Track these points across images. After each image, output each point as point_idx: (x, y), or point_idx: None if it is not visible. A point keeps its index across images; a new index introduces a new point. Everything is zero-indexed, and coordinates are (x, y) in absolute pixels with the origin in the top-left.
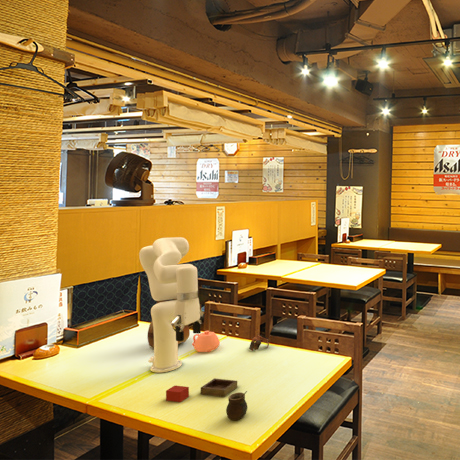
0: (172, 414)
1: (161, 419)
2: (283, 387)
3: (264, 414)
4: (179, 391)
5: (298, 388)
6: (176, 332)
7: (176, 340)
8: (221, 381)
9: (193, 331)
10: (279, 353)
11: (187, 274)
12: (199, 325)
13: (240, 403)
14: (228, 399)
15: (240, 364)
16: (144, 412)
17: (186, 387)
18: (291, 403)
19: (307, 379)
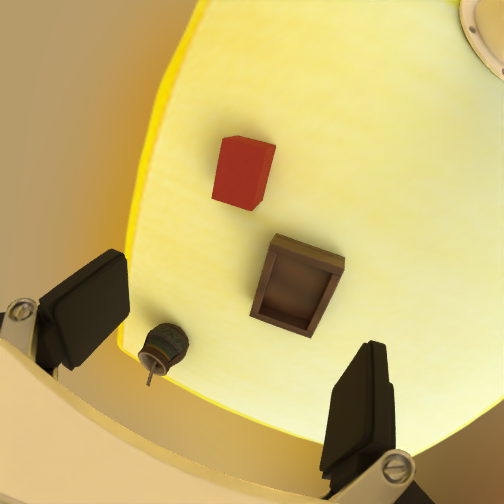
0: (166, 198)
1: (145, 182)
2: (294, 401)
3: (190, 370)
4: (216, 192)
5: (285, 417)
6: (39, 308)
7: (111, 253)
8: (323, 293)
9: (363, 358)
10: (498, 376)
11: None
12: (325, 464)
13: (151, 361)
14: (145, 348)
15: (481, 300)
16: (171, 113)
17: (247, 204)
18: (228, 403)
19: (323, 428)
